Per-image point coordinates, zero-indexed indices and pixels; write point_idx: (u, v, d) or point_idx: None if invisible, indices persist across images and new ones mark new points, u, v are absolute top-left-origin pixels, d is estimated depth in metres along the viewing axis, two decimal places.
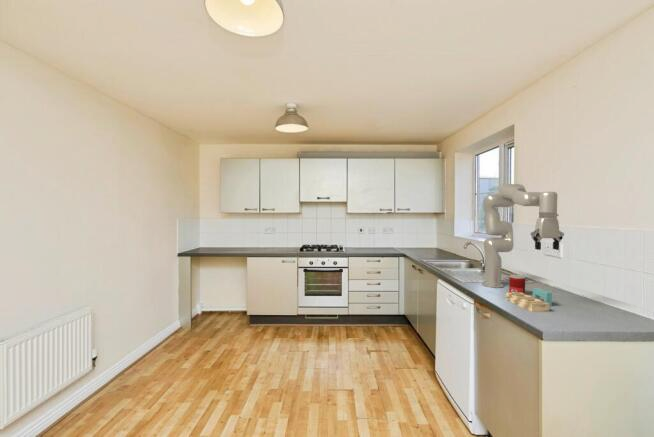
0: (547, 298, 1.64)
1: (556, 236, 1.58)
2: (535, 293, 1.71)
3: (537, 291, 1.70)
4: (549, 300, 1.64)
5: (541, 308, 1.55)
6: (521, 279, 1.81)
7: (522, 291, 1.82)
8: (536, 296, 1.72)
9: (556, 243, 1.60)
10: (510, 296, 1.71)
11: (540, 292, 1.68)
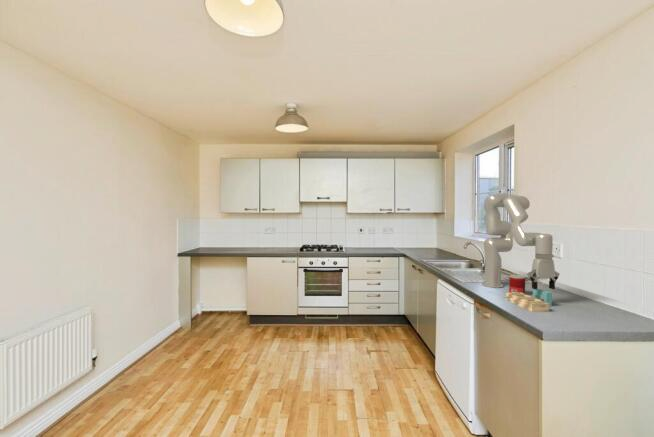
0: (547, 298, 1.64)
1: (552, 276, 1.66)
2: (535, 293, 1.71)
3: (537, 291, 1.70)
4: (549, 300, 1.64)
5: (541, 308, 1.55)
6: (521, 279, 1.81)
7: (522, 291, 1.82)
8: (536, 296, 1.72)
9: (552, 283, 1.67)
10: (510, 296, 1.71)
11: (540, 292, 1.68)
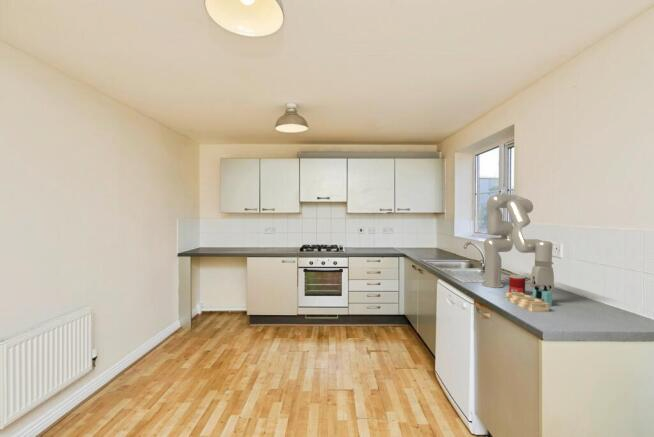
0: (547, 298, 1.64)
1: (551, 284, 1.66)
2: (535, 293, 1.71)
3: None
4: (549, 300, 1.64)
5: (541, 308, 1.55)
6: (521, 279, 1.81)
7: (522, 291, 1.82)
8: None
9: None
10: (510, 296, 1.71)
11: None
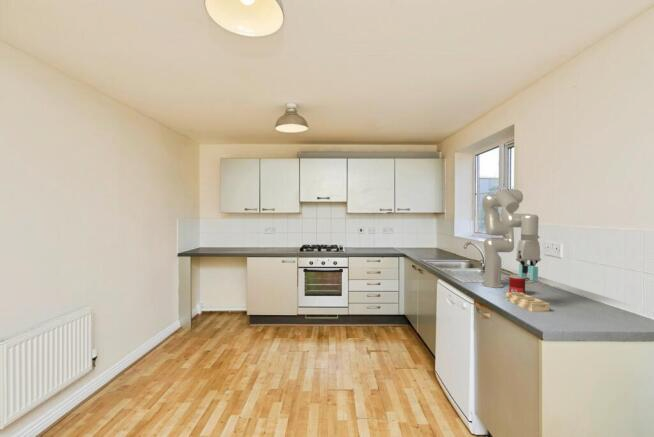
0: (533, 272, 1.59)
1: (537, 258, 1.62)
2: (521, 268, 1.67)
3: None
4: (535, 274, 1.59)
5: (541, 308, 1.55)
6: (521, 279, 1.81)
7: (522, 291, 1.82)
8: None
9: None
10: (510, 296, 1.71)
11: None
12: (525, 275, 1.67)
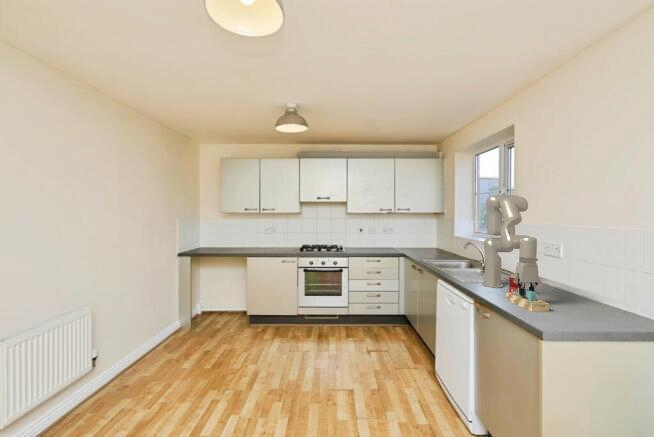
0: (531, 298, 1.60)
1: (535, 280, 1.63)
2: None
3: None
4: (533, 300, 1.60)
5: (541, 308, 1.55)
6: None
7: None
8: (521, 296, 1.68)
9: (531, 289, 1.64)
10: (510, 296, 1.71)
11: (525, 292, 1.64)
12: None
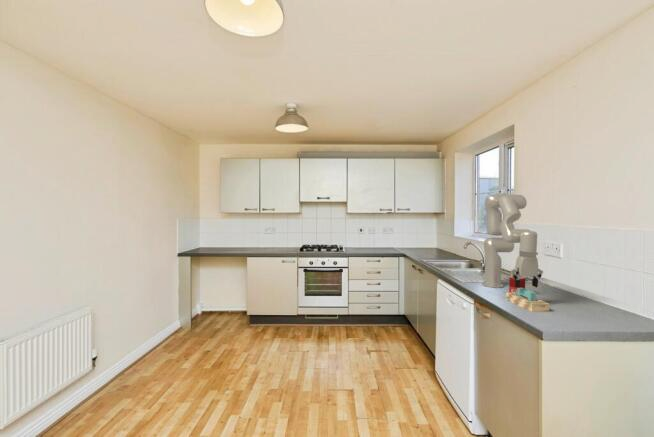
0: (531, 298, 1.60)
1: (535, 274, 1.63)
2: (520, 293, 1.68)
3: (521, 291, 1.66)
4: (533, 300, 1.60)
5: (541, 308, 1.55)
6: (521, 279, 1.81)
7: None
8: (521, 296, 1.68)
9: (535, 281, 1.65)
10: (510, 296, 1.71)
11: (524, 292, 1.64)
12: None
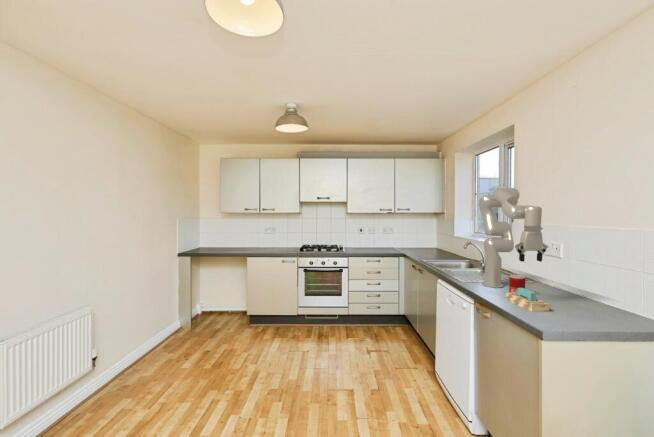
0: (531, 298, 1.60)
1: (539, 249, 1.66)
2: (520, 293, 1.68)
3: (521, 291, 1.66)
4: (533, 300, 1.60)
5: (541, 308, 1.55)
6: (521, 279, 1.81)
7: None
8: (521, 296, 1.68)
9: (539, 255, 1.67)
10: (510, 296, 1.71)
11: (524, 292, 1.64)
12: None
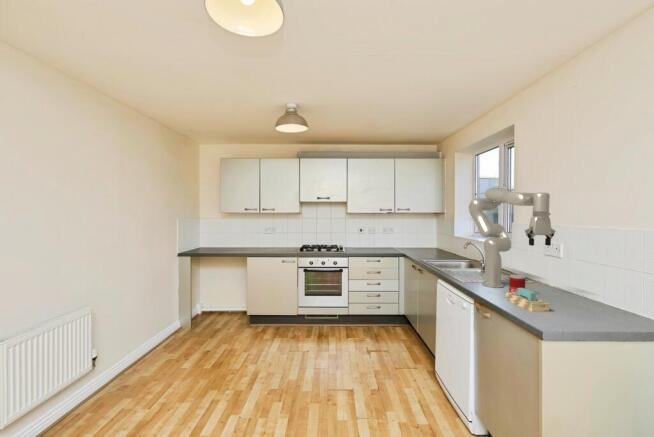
0: (531, 298, 1.60)
1: (548, 233, 1.74)
2: (520, 293, 1.68)
3: (521, 291, 1.66)
4: (533, 300, 1.60)
5: (541, 308, 1.55)
6: (521, 279, 1.81)
7: None
8: (521, 296, 1.68)
9: (548, 239, 1.75)
10: (510, 296, 1.71)
11: (524, 292, 1.64)
12: None
